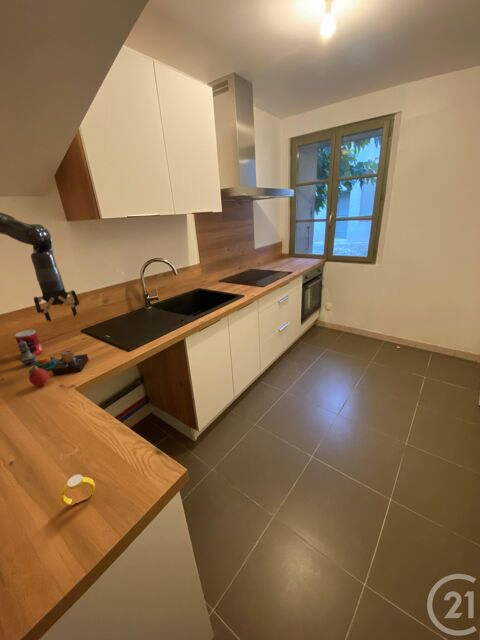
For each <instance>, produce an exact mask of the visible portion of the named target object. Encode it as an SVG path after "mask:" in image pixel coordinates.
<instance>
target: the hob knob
mask: <svg viewBox="0 0 480 640" xmlns="http://www.w3.org/2000/svg"><path fill="white" fill-rule="evenodd" d="M60 356H61V358H62V359H63V362H64V364H70V363H73V362H74V361H76V358H75V356H76V355H75V351H74V349H72V348H68V349H65V350H63V351H61V352H60Z"/></svg>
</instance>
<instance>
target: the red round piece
mask: <svg viewBox="0 0 480 640" xmlns="http://www.w3.org/2000/svg"><path fill="white" fill-rule="evenodd" d="M49 379H50V374H49V371H46V370H44V369H39V368H38V367H35V368H34V370H33V371H32V372H31V374H30V373H29V375H28V380H29V382H30V384H32V385H33V386H37V387H39V386H40V387H41V386H42V387H43V386H44V385H45V384H47V382H48V381H49Z"/></svg>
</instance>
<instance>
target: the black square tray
mask: <svg viewBox="0 0 480 640" xmlns="http://www.w3.org/2000/svg"><path fill="white" fill-rule="evenodd" d="M75 358H76V361H74V362H73V363H70V364H64V362H63V359H62V357H60V358H59V359H60V360H59V362H58V363H57V364H56V365H55V366H54V367H53V368H52V371H51V372H52V375H53V377H56V376H62V375H69V374H70V375H71V374H76V373H82V371H83V369H84V368H85V366H86V365H87V363H88V362H89V356H88V354H87V353H85V354H76V355H75Z"/></svg>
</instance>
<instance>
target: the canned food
mask: <svg viewBox="0 0 480 640" xmlns="http://www.w3.org/2000/svg"><path fill="white" fill-rule="evenodd" d="M14 338H15V340H16V343H17V344H18V343H19V342H20V340H22V341H25V342H26V343H27V346H28V347H29V348H30V349H29V350H30V352H31V354H36V357H37V356H39V355H41V354H42V353H43V347H42V345H41V342H40V339H39V337H38V334H37V331H36V329H26V330H22V331H18V332H17V333H15V334H14Z"/></svg>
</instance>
